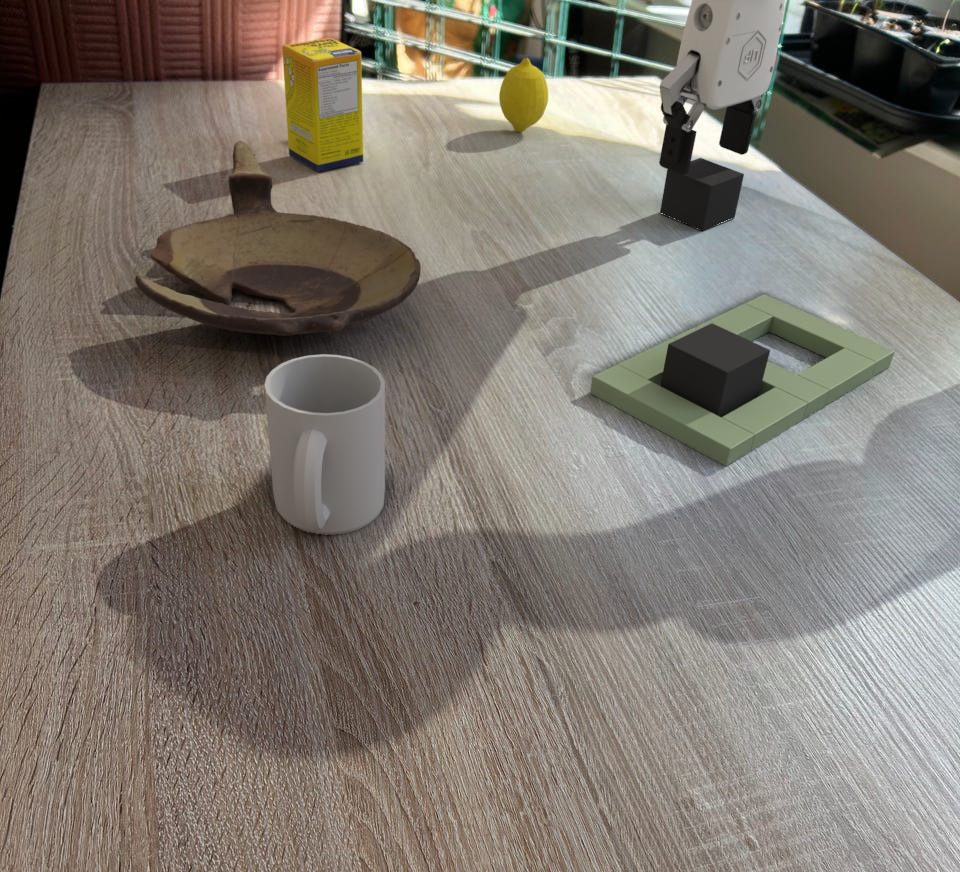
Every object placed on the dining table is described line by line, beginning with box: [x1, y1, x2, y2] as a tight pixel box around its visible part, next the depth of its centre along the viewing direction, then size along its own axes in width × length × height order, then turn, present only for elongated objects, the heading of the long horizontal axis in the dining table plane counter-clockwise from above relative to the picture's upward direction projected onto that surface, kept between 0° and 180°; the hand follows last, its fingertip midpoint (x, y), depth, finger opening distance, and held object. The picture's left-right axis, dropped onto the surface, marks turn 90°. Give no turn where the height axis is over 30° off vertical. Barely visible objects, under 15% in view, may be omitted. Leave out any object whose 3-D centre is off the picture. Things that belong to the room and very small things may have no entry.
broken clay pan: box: [134, 140, 421, 337], centre depth 91 cm, size 22×30×8 cm
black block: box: [660, 323, 771, 418], centre depth 84 cm, size 6×6×4 cm
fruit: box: [498, 56, 549, 133], centre depth 125 cm, size 6×6×8 cm
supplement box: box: [281, 37, 364, 173], centre depth 114 cm, size 6×6×11 cm
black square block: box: [659, 157, 745, 232], centre depth 111 cm, size 6×6×4 cm
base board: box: [589, 293, 896, 467], centre depth 88 cm, size 23×13×2 cm, turn 135°
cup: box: [264, 353, 386, 536], centre depth 68 cm, size 7×10×9 cm
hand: (703, 159), depth 109 cm, fingers open, 9 cm apart
